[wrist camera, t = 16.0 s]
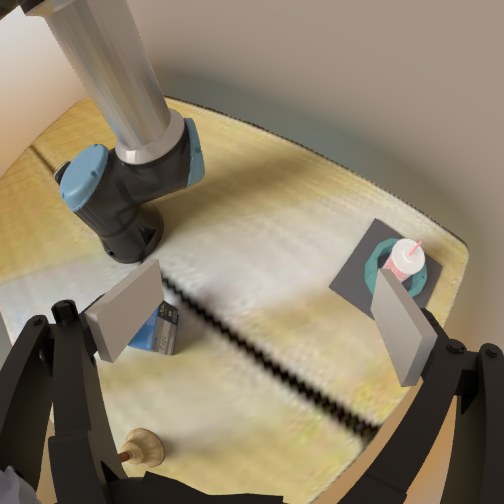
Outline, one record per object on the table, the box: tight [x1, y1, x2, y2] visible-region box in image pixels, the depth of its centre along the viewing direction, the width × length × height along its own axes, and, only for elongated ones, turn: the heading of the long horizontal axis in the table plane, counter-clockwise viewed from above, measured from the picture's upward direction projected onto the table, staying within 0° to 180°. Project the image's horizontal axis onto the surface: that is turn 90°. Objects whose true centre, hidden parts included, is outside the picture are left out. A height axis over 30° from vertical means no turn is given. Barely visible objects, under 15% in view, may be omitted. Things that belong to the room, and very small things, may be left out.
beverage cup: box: [382, 239, 425, 282], centre depth 40 cm, size 6×6×14 cm
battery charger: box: [54, 161, 71, 186], centre depth 62 cm, size 7×4×11 cm, turn 143°
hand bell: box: [118, 429, 164, 467], centre depth 31 cm, size 8×8×16 cm
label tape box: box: [128, 300, 179, 355], centre depth 42 cm, size 9×4×12 cm, turn 174°
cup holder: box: [329, 218, 442, 320], centre depth 45 cm, size 18×18×5 cm
